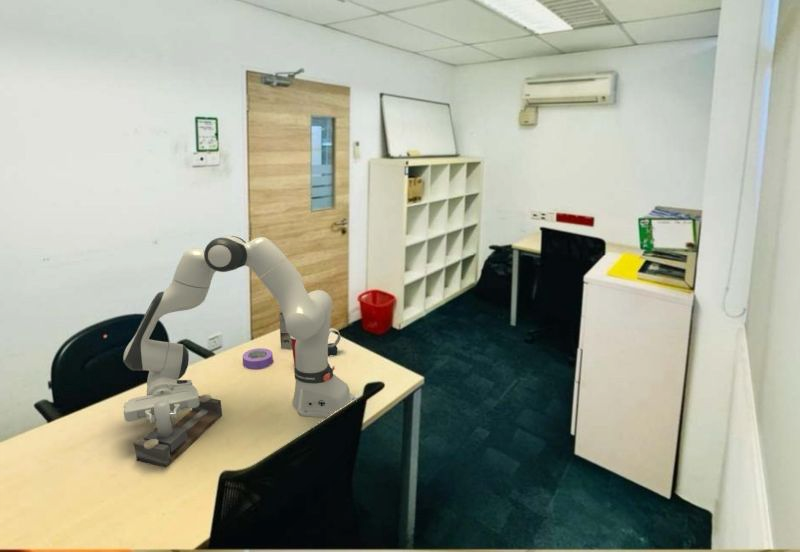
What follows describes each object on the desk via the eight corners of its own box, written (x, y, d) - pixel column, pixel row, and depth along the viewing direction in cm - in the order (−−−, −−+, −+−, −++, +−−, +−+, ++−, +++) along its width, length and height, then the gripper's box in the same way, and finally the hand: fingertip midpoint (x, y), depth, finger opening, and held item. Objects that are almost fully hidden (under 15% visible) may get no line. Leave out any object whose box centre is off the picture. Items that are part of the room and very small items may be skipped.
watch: (320, 350, 201) (320, 327, 198) (339, 348, 204) (339, 325, 200) (322, 356, 196) (322, 332, 193) (341, 354, 198) (341, 331, 195)
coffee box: (294, 349, 202) (293, 315, 197) (280, 348, 202) (278, 314, 197) (301, 340, 210) (299, 307, 205) (287, 339, 211) (285, 306, 206)
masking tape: (246, 356, 195) (245, 348, 194) (274, 355, 196) (274, 347, 195) (240, 370, 184) (239, 361, 182) (270, 369, 185) (269, 361, 184)
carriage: (162, 432, 141) (157, 394, 137) (187, 437, 139) (183, 400, 135) (145, 446, 135) (138, 407, 131) (171, 452, 133) (165, 413, 129)
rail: (197, 409, 158) (195, 392, 156) (223, 414, 155) (221, 397, 153) (134, 462, 132) (131, 443, 130) (164, 469, 130) (161, 450, 128)
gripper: (122, 392, 140) (119, 417, 128) (196, 378, 149) (199, 401, 137) (125, 410, 142) (123, 436, 130) (198, 395, 151) (201, 419, 139)
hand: (163, 418), depth 134 cm, fingers closed on carriage, 4 cm apart
